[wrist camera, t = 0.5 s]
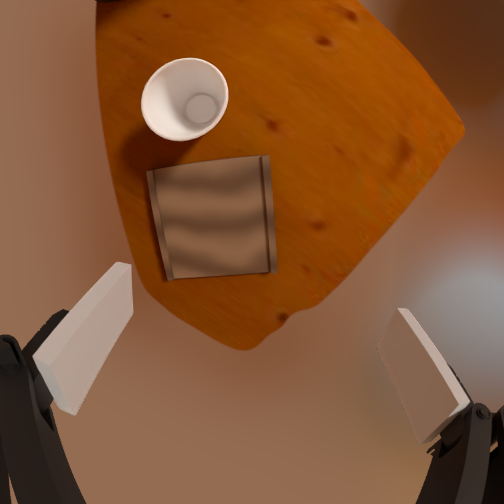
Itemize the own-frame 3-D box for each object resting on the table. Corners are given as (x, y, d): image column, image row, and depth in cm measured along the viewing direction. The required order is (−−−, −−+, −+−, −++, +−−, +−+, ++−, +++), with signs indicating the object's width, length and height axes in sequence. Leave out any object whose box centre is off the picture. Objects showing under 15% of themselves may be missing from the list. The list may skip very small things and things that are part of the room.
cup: (167, 141, 37) (138, 142, 27) (171, 80, 33) (144, 62, 23) (233, 142, 37) (225, 141, 27) (237, 78, 33) (231, 56, 23)
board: (151, 169, 39) (146, 171, 37) (268, 154, 38) (269, 155, 36) (171, 274, 45) (167, 280, 44) (276, 267, 45) (277, 272, 43)
